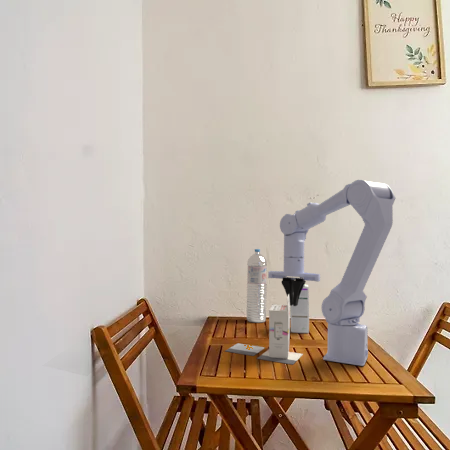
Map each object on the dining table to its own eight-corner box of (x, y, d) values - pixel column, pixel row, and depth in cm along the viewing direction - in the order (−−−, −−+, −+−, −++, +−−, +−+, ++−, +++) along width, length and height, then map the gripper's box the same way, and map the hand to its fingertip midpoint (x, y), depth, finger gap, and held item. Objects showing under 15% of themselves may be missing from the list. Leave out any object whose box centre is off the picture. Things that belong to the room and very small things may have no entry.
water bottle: (256, 317, 142) (257, 248, 143) (270, 321, 137) (271, 249, 138) (242, 320, 138) (243, 248, 139) (256, 324, 133) (257, 249, 133)
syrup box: (309, 333, 122) (309, 286, 122) (289, 332, 122) (290, 285, 123) (308, 329, 127) (309, 284, 127) (289, 328, 128) (290, 283, 128)
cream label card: (303, 354, 100) (303, 353, 100) (292, 364, 92) (292, 364, 92) (269, 349, 104) (269, 348, 104) (257, 358, 96) (257, 358, 96)
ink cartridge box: (270, 347, 105) (271, 292, 106) (289, 349, 104) (290, 293, 105) (267, 357, 97) (268, 297, 97) (288, 359, 96) (289, 298, 96)
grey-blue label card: (264, 347, 105) (264, 347, 105) (253, 356, 98) (253, 355, 98) (237, 343, 109) (237, 343, 109) (224, 351, 102) (224, 350, 102)
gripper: (322, 257, 112) (322, 305, 112) (274, 255, 119) (273, 300, 118) (317, 258, 106) (316, 309, 106) (266, 256, 112) (265, 304, 112)
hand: (293, 305), depth 112 cm, fingers closed
